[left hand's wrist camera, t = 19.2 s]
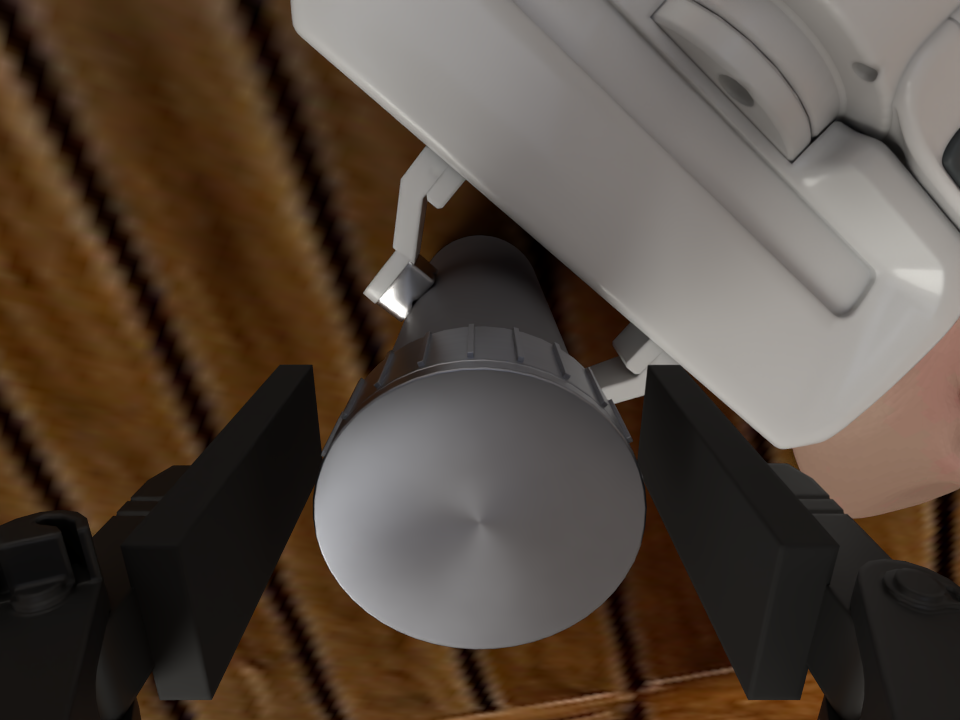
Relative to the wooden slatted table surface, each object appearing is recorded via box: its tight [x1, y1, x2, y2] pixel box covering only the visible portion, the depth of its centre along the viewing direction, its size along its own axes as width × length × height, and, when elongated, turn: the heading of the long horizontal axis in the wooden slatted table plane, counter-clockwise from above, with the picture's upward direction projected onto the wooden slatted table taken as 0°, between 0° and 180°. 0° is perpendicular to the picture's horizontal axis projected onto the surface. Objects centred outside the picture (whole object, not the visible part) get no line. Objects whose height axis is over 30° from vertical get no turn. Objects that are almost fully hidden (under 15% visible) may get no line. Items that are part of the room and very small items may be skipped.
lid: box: [313, 324, 647, 649], centre depth 11 cm, size 6×6×2 cm
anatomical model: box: [793, 317, 960, 518], centre depth 25 cm, size 13×4×12 cm
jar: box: [392, 235, 568, 354], centre depth 18 cm, size 5×5×15 cm
